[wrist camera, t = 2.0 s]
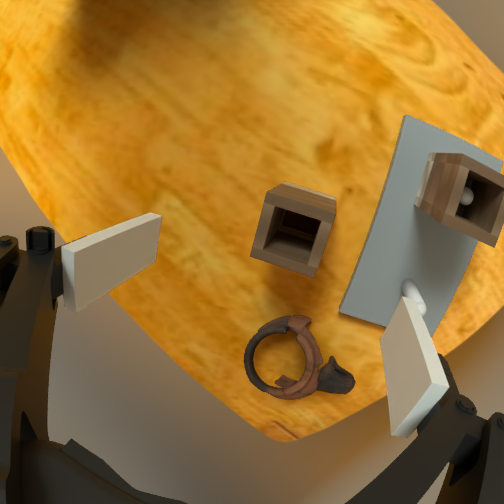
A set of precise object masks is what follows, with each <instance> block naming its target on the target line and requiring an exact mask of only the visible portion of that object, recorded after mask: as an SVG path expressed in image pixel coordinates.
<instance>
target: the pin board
mask: <svg viewBox="0 0 504 504" xmlns="http://www.w3.org/2000/svg"><path fill="white" fill-rule="evenodd" d="M429 152H435V153H461V154H465V155H467V156H469V157H471V158H473V159H475V160H476V161H478V162H480V163H482V164H484V165H486V166H488V167H490V168H491V169H493V170H495V171H497V172H498V173H500V172H501V168H502V164H503V161H501V160H499V159H498V158H496V157H494V156H492V155H491V154H489V153H487V152H485V151H483V150H482V149H480V148H478V147H476V146H474V145H472V144H470V143H468V142H466V141H464V140H462V139H460V138H458V137H456V136H454V135H452V134H450V133H448V132H446V131H444V130H441V129H439V128H437V127H435V126H432V125H430V124H428V123H426V122H423V121H421V120H418V119H416V118H414V117H411V116H409V115H405V116H403V120H402V124H401V128H400V132H399V136H398V139H397V143H396V147H395V150H394V154H393V157H392V161H391V164H390V168H389V171H388V174H387V178H386V181H385V184H384V187H383V190H382V194H381V197H380V200H379V203H378V206H377V209H376V212H375V215H374V218H373V221H372V223H371V226H370V229H369V232H368V235H367V238H366V240H365V243H364V246H363V248H362V251H361V254H360V256H359V259H358V262H357V264H356V267H355V269H354V272H353V274H352V277H351V279H350V282H349V284H348V287H347V289H346V292H345V294H344V297H343V299H342V301H341V304H340V306H339V312H341V313H344V314H347V315H350V316H353V317H356V318H360V319H363V320H366V321H369V322H372V323H375V324H379V325H382V326H385V327H387V326H388V324H389V322H390V320H391V318H392V316H393V314H394V312H395V310H396V308H397V306H398V304H399V302H400V300H401V297H402V296H403V297H406V298H409V299H412V300H415V302H416V304H417V306H418V309H419V311H420V313H421V315H422V318H423V320H424V322H425V325H426V327H427V329H428V332H429V334H430V337H432V336H433V334H434V332H435V330H436V329H437V327H438V325H439V323H440V321H441V320H442V318H443V316H444V314H445V312H446V310H447V308H448V306H449V304H450V302H451V300H452V298H453V296H454V294H455V292H456V290H457V288H458V286H459V284H460V282H461V280H462V278H463V275H464V273H465V271H466V269H467V266H468V264H469V262H470V259H471V257H472V255H473V252H474V250H475V247H476V245H477V242H478V240H477V239H474V238H472V237H470V236H468V235H466V234H463V233H461V232H459V231H457V230H454V229H452V228H450V227H447V226H445V225H443V224H441V223H439V222H438V221H437V220H435V219H434V218H433V217H431V216H430V215H428V214H427V213H426V212H424V211H423V210H422V209H420V208H419V207H417V206H416V205H414V202H415V199H416V196H417V193H418V189H419V186H420V183H421V180H422V177H423V173H424V170H425V166H426V163H427V159H428V156H429ZM473 197H474V196H473V192H472V190H471V189H470V188H468V187H465V186H464V189H463V193H462V196H461V199H460V202H459V203H461V204H463V205H469V204H470V203H471V202H472V201H473Z"/></svg>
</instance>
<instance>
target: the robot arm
mask: <svg viewBox="0 0 504 504" xmlns="http://www.w3.org/2000/svg"><path fill="white" fill-rule="evenodd" d="M161 220H162V216H160V215H157V214H154V213H151V212H150V213H147V214H144V215H141V216H139V217H136V218H133V219H130V220H128V221H125V222H122V223H120V224H117V225H114V226H112V227H109V228H106V229H104V230H101V231H99V232H96V233H94V234H91V235H88V236H84V237H82V238H79V239H78V240H74V241H72V242H69V243H67V244H65V245H62V246H60V247H57V248H55V241H54V239H55V236H54V234H55V233H54V230H53V229H52V228H49V227H44V226H37V227H33V228H30V229H28V230H27V231H26V246H27V251H24V250H20V249H19V247H18V239H17V238H15V237H12V236H8V235H7V236H2V237H0V504H187V503H185V502H182V501H179V500H174V499H169V498H165V497H161V496H157V495H153V494H149V493H145V492H142V491H139V490H136V489H134V488H133V487H131V486H130V485H129V484H128V483H127V482H126V481H125V480H124V479H122V478H121V477H120V476H119V475H118V474H117V473H116V472H115V471H114V470H113V469H112V468H110V466H109V465H108V464H106V463H105V462H104V461H103V460H102V459H101V458H99V457H98V456H96V455H95V454H93V453H91V452H90V451H88V450H87V449H85V448H84V447H83V446H81V445H79V444H78V443H77V442H75V441H74V440H73V439H70V440H69V442H68V443H67V444H66V445H63V444H60V443H57V442H53V441H49V437H48V429H47V411H48V385H49V370H50V359H51V350H52V341H53V333H54V325H55V319H56V313H57V307H58V302H57V297H59V296H60V295H62V294H63V298H64V306H65V307H67V308H68V309H70V310H72V311H73V312H75V313H77V312H79V311H80V310H82V309H83V308H85V307H86V306H88V305H89V304H91V303H92V302H94V301H95V300H97V299H98V298H100V297H101V296H103V295H104V294H106V293H107V292H109V291H111V290H112V289H114V288H115V287H117V286H118V285H120V284H121V283H123V282H124V281H126V280H128V279H129V278H131V277H132V276H134V275H135V274H137V273H139V272H140V271H142V270H143V269H145V268H146V267H148V266H150V265H151V264H153V263H154V262H156V255H157V247H158V240H159V233H160V226H161ZM380 343H381V350H382V356H383V363H384V371H385V378H386V387H387V395H388V404H389V415H390V427H391V435H394V436H400V437H405V438H408V437H409V436H410V435H411V434H412V432H413V431H414V430H415V429H416V428H417V433H418V436H417V437H416V439H415V440H414V441H413V442H412V443H411V444H410V445H409V446H408V447H407V448H406V449H405V450H404V451H403V452H402V453H401V454H400V455H399V456H398V457H397V458H396V459H395V460H394V461H393V462H392V463H391V464H390V465H389V466H388V467H387V468H386V469H385V470H384V471H383V472H382V473H380V474H379V475H378V476H377V477H376V478H375V479H374V480H373V481H372V482H370V484H368V485H367V486H366V487H365V488H364V489H362V490H361V491H360V492H359V493H358V494H356V495H355V496H354V497H353V498H351V499H350V500H349V501H348V502H346V503H345V504H417V503H418V502H419V500H420V499H421V498H422V497H423V495H424V494H425V493H426V492H427V490H428V489H429V488H430V486H431V485H432V484H433V483H434V481H435V480H436V478H437V477H438V476H439V474H440V473H441V471H442V470H443V469H444V467H445V466H446V464H447V463H448V462H450V464H449V467H448V470H447V473H446V476H445V479H444V482H443V485H442V488H441V491H440V493H439V496H438V499H437V501H436V504H504V414H502V413H499V412H495V413H494V414H493V415H492V416H491V417H490V418H489V419H488V420H486V419H483V418H481V417H479V416H477V415H476V414H477V410H476V407H475V405H474V404H473V402H471V400H470V399H469V398H467V397H465V396H464V395H460V394H459V391H458V388H457V386H456V383H455V380H454V378H453V375H452V373H451V371H450V367H449V365H448V362H447V361H446V360H445V359H444V357H443V356H442V355H441V354H439V353H437V352H436V349H435V347H434V344H433V342H432V339H431V337H430V334H429V332H428V329H427V327H426V325H425V322H424V320H423V318H422V315H421V313H420V311H419V309H418V306H417V304H416V302H415V300H412V299H409V298H406V297H403V296H402V297H401V300H400V302H399V304H398V306H397V308H396V310H395V312H394V314H393V316H392V318H391V320H390V322H389V324H388V326H387V328H386V330H385V332H384V334H383V336H382V337H381V339H380Z"/></svg>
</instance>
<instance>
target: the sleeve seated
mask: <svg viewBox="0 0 504 504" xmlns="http://www.w3.org/2000/svg"><path fill="white" fill-rule="evenodd" d="M464 186H465V187H468V188H470V189H471V190H472V192H473V196H474V197H473V201H472V202H471V203H470V204H469V205H463V204H461V203H459V202H460V199H461V196H462V193H463V189H464ZM414 205H416V206H417V207H419V208H420V209H422V210H423V211H424V212H426V213H427V214H428V215H430V216H431V217H433V218H434V219H435V220H437V221H438V222H439V223H441V224H443V225H445V226H447V227H450V228H452V229H454V230H457V231H459V232H461V233H463V234H466V235H468V236H470V237H472V238H474V239H477V240H479V241H481V242H483V243H485V244H487V245H489V246H492V247H495V245H496V242H497V240H498V237H499V234H500V232H501V229H502V226H503V223H504V175H502V174H500V173H498V172H497V171H495V170H493V169H491V168H490V167H488V166H486V165H484V164H482V163H480V162H478V161H476V160H475V159H473V158H471V157H469V156H467V155H465V154H461V153H435V152H429V156H428V159H427V163H426V166H425V170H424V173H423V177H422V180H421V183H420V186H419V189H418V193H417V196H416V199H415V202H414Z"/></svg>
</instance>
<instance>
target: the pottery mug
mask: <svg viewBox="0 0 504 504" xmlns="http://www.w3.org/2000/svg"><path fill="white" fill-rule="evenodd" d="M310 323H311V319H310V318H308V317H305V316H302V315H294V316H293V317H291V316H284V317H280V318H277V319H275V320H272V321H270V322H268V323H266V324H265V325H264V326H262V327H261V328H260V329H259V330H258V333H256V334H255V335H254V336H253V337H252V339H251V340H250V341H249V343H248V345H247V347H246V349H245V353H244V364H245V370H246V374H247V376H248V378H249V380H250V381H251V383H253V384H254V385H255V386H256V387H257V388H258V389H260V390H261V391H263V392H266V393H268V394H270V395H272V396H274V397H276V398H280V399H285V400H294V399H300V398H303V397H306V396H309V395H311V394H312V393H314V392H315V391H316V390H317V391H324V392H328V393H337V394H346V393H348V392H350V391H351V390H352V389H353V387H354V385H355V380H354V377H353V375H352V374H351V373H349V372H348V371H346V370H345V369H343V368H342V367H340V366H339V365H338V364H337V362H336V360H335V358H334V357H333V356H331V357H330V359H329V362H328V363H327V364H326V365H324V366H323V367H322V368H321V370H320V372H318V366H319V365H321V364H323V360H322V356H321V353H320V349H319V347H318V345H317V343H316V341H315V339H314V337H313V335H312V334H311V332H310V331H309V330H308V329H307V328H305V327H306V326H307V324H310ZM288 331H291V332H294V333H296V334H297V337H296V340H297V341H298V342H299V344H300V345H301V346H302V348H303V350H304V353H305V357H306V367H305V371H304V374H303V375H302V377H301V378H300V380H299V381H296V380H292V379H289V378H287V377H285V376H283V375H282V376H281V377H280V378H279V379H278V380H276V381H275V384H277V385H278V386H280V387H282V388H276V387H273V386H270V385H267V384H266V383H265V382H263V381H262V380H261V379H260V377H259V376H258V375H257V373H256V371H255V368H254V364H253V357H254V352H255V349H256V347H257V345H258V344H259V342H260V341H261V340H262V339H264V338H265V337H267V336H269V335H271V334H276V333H282V334H287V332H288Z"/></svg>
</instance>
